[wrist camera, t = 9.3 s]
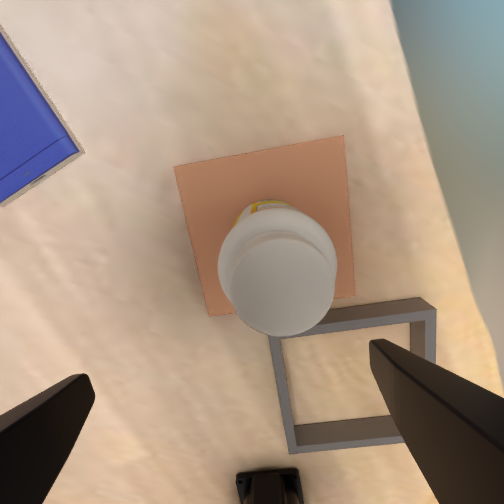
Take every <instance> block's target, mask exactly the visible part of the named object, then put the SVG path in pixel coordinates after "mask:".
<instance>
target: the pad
mask: <svg viewBox="0 0 504 504" xmlns="http://www.w3.org/2000/svg"><path fill="white" fill-rule="evenodd" d="M174 171H175V175H176V179H177V184H178V188H179V192H180V196H181V200H182V205H183V209H184V213H185V217H186V222H187V226H188V230H189V234H190V238H191V243H192V247H193V251H194V255H195V259H196V264H197V268H198V272H199V276H200V281H201V285H202V289H203V293H204V297H205V302H206V306H207V310H208V314H209V316H216V315H223V314H230V313H236V311H235V309H234V307H233V305H232V303H231V302H230V301H229V300H228V298H227V297H226V295H225V293H224V292H223V289H222V287H221V284H220V281H219V277H218V258H219V253H220V250H221V247H222V244H223V242H224V240H225V238H226V236H227V234H228V233H229V231H230V229H231V228H232V226H233V224H234V222H235V221H236V219H237V217H238V216H239V214H240V213H241V212H242V211H243V210H244V209H245V208H246V207H248V206H249V205H251V204H253V203H255V202H257V201H260V200H266V199H275V200H280V201H283V202H286V203H288V204H290V205H292V206H293V207H295V208H296V209H298V210H300V211H301V212H303V213H305V214H306V215H308V216H309V217H311V218H312V219H314V220H315V221H316V222H317V223H318V224H320V225H321V226H322V228H323V229H324V230H325V231H326V232H327V234H328V235H329V237H330V239H331V240H332V243H333V245H334V248H335V251H336V256H337V274H336V279H335V293H334V298H333V299H337V298H344V297H351V296H355V285H354V271H353V257H352V243H351V229H350V215H349V201H348V187H347V174H346V160H345V146H344V135H342V136H337V137H332V138H326V139H321V140H315V141H310V142H305V143H299V144H294V145H289V146H283V147H278V148H272V149H267V150H262V151H256V152H251V153H245V154H240V155H235V156H229V157H224V158H218V159H213V160H208V161H202V162H197V163H191V164H186V165H181V166H175V167H174Z"/></svg>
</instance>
